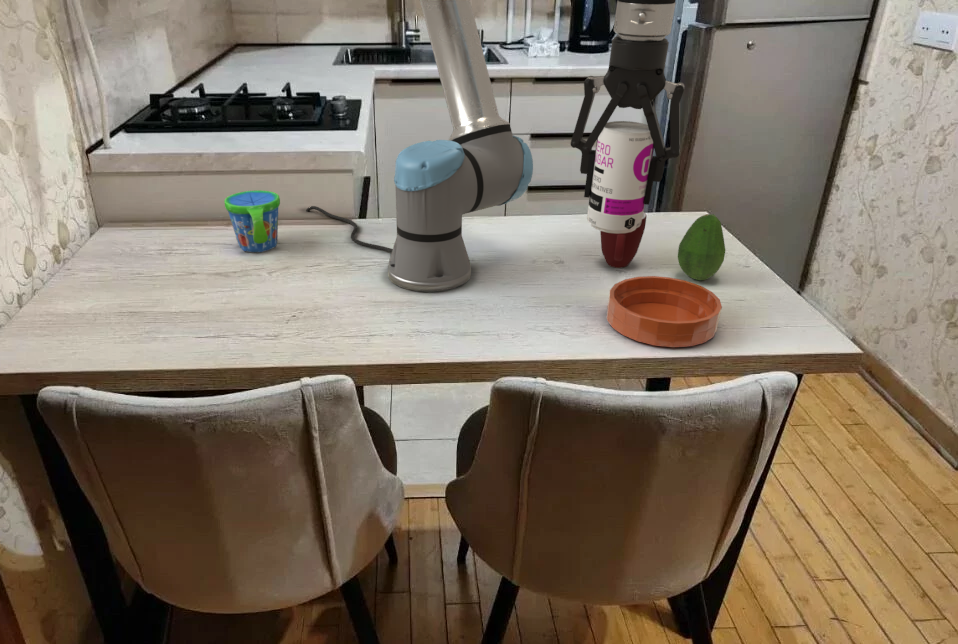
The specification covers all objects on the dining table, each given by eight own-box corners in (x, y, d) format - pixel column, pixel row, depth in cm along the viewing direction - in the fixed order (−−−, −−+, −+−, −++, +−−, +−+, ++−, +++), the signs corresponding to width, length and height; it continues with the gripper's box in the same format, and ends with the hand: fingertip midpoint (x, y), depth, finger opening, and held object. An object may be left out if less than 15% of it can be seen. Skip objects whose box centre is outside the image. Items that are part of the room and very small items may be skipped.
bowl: (592, 332, 114) (595, 307, 112) (624, 292, 127) (627, 268, 125) (702, 359, 107) (708, 333, 105) (725, 314, 120) (730, 289, 117)
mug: (643, 279, 132) (651, 226, 127) (598, 277, 133) (604, 225, 128) (636, 256, 141) (643, 207, 136) (594, 255, 142) (600, 205, 137)
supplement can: (649, 224, 113) (667, 126, 105) (623, 239, 107) (639, 137, 100) (603, 212, 117) (617, 117, 110) (576, 225, 112) (588, 127, 104)
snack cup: (232, 235, 152) (225, 187, 147) (283, 231, 154) (277, 184, 149) (230, 264, 139) (223, 212, 133) (286, 259, 140) (281, 208, 135)
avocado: (714, 270, 135) (727, 208, 129) (723, 288, 128) (737, 223, 122) (670, 268, 136) (681, 206, 130) (676, 285, 129) (688, 221, 123)
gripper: (559, 35, 98) (544, 197, 110) (722, 45, 92) (687, 214, 104) (568, 28, 104) (553, 183, 116) (722, 37, 99) (689, 198, 110)
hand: (617, 197), depth 110 cm, fingers closed on supplement can, 8 cm apart
